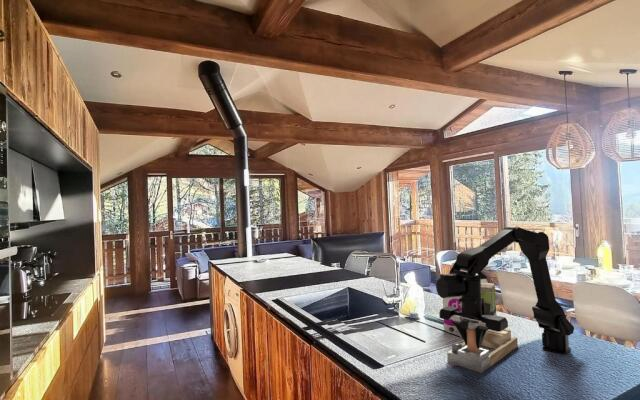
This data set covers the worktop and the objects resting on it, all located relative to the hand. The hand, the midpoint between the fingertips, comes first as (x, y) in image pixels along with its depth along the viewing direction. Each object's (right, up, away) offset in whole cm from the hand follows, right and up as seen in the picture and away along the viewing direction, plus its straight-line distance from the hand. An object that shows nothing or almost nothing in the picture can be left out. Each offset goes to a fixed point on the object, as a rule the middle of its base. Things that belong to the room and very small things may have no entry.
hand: (473, 346), depth 109 cm
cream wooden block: (+14, -6, +14) cm, 21 cm away
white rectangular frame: (-1, -6, +1) cm, 6 cm away
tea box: (+19, -6, +43) cm, 47 cm away
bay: (+9, -6, +10) cm, 15 cm away
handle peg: (0, -1, 0) cm, 1 cm away
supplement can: (+6, -6, +30) cm, 31 cm away
